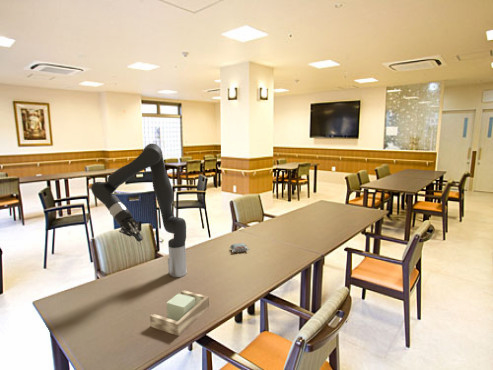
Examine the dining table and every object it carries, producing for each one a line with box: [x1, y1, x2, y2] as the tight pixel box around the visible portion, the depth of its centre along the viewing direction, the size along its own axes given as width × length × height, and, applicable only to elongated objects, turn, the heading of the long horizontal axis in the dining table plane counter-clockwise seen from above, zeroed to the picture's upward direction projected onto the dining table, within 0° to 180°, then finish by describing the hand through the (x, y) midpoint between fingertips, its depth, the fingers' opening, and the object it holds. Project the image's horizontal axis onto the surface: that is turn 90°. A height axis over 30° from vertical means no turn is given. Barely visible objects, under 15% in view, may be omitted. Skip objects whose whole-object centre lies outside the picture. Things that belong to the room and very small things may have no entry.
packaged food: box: [229, 242, 250, 253], centre depth 199 cm, size 9×12×5 cm
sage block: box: [166, 293, 196, 321], centre depth 127 cm, size 9×8×8 cm
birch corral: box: [149, 289, 210, 337], centre depth 128 cm, size 14×22×5 cm, turn 155°
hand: (141, 240), depth 143 cm, fingers closed
